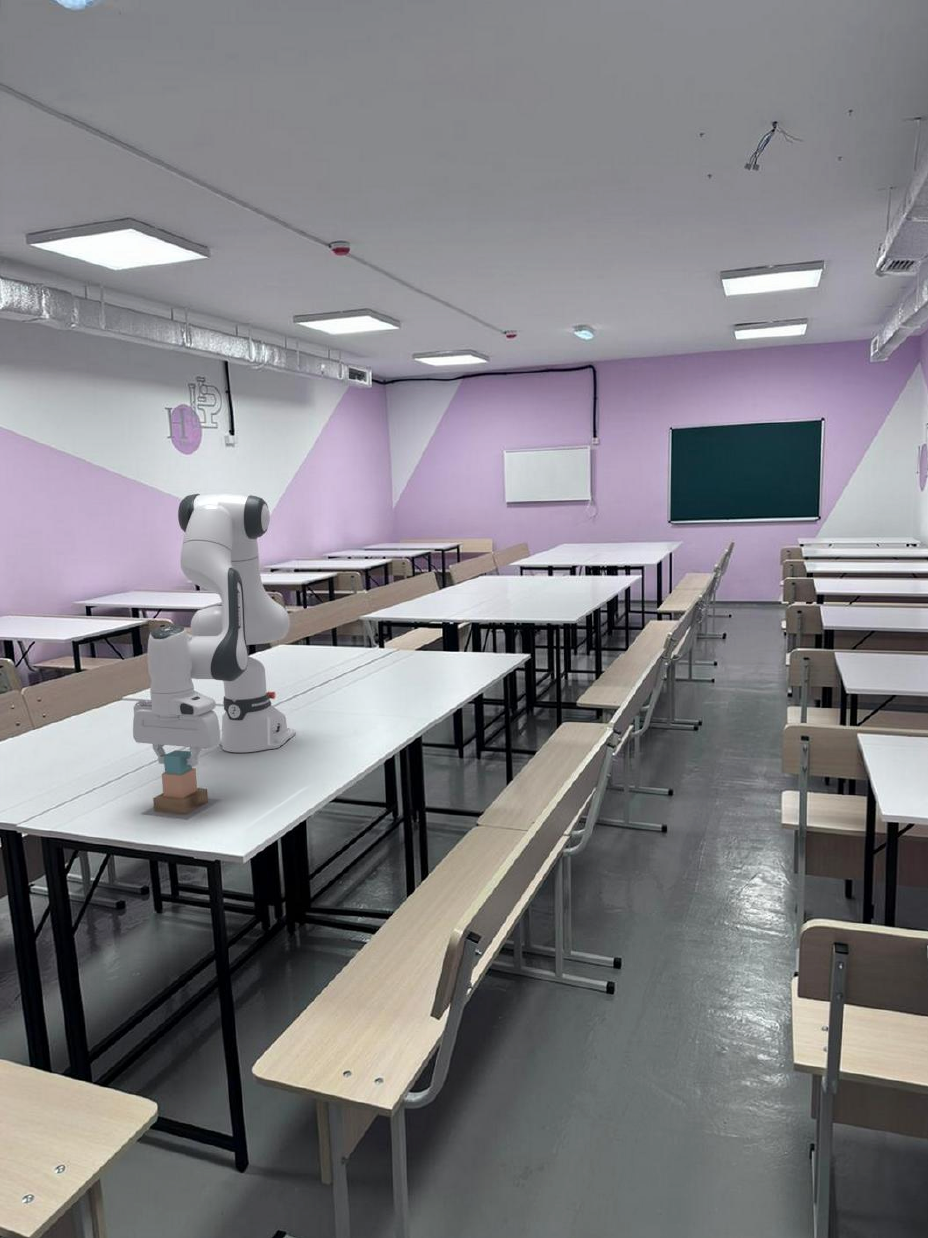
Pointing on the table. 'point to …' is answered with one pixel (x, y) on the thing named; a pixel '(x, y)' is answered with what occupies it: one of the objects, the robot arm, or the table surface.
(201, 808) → the mat
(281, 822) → the table surface
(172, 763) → the teal cube
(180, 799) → the base brick
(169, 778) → the terracotta cube
